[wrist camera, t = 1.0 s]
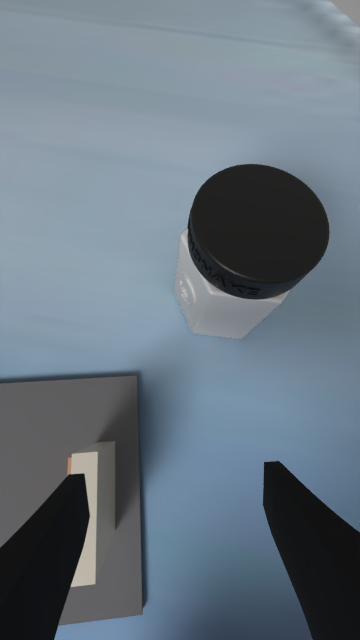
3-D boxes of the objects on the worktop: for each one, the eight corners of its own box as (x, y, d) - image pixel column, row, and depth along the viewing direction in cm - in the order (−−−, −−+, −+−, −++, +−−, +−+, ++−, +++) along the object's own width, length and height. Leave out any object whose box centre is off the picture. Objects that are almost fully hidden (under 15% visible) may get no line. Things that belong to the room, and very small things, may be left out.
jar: (162, 273, 28) (164, 178, 17) (235, 247, 30) (282, 143, 18) (201, 357, 26) (234, 312, 15) (278, 323, 28) (362, 259, 16)
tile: (115, 530, 21) (95, 584, 14) (92, 533, 21) (60, 588, 14) (115, 441, 23) (97, 451, 16) (93, 442, 23) (67, 454, 16)
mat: (142, 608, 20) (142, 614, 20) (-107, 641, 19) (-116, 648, 18) (137, 376, 25) (137, 375, 24) (-61, 388, 24) (-66, 387, 23)
